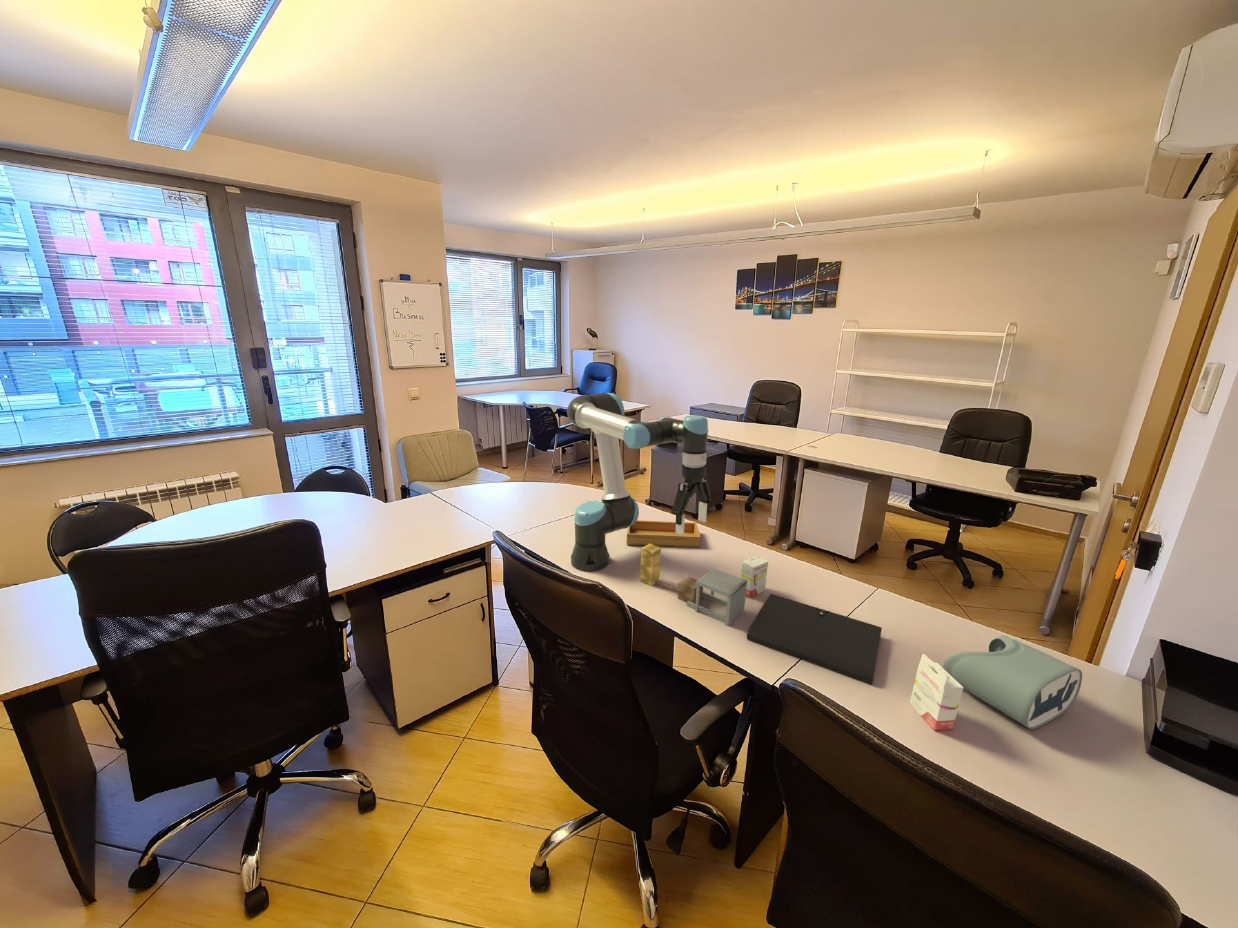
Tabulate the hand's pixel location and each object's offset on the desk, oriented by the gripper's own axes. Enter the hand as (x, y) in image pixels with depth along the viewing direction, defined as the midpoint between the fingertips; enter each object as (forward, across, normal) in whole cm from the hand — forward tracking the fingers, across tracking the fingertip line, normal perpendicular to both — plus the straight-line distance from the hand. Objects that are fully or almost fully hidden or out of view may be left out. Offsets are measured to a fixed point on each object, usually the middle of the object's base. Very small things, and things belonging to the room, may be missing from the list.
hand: (691, 527), depth 153 cm
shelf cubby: (+25, -1, -11) cm, 28 cm away
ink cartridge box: (+27, -6, -72) cm, 77 cm away
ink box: (+26, +17, -15) cm, 34 cm away
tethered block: (+25, -1, +7) cm, 26 cm away
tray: (+25, +30, +33) cm, 51 cm away
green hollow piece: (+27, +15, -84) cm, 90 cm away
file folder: (+27, +6, -40) cm, 49 cm away
